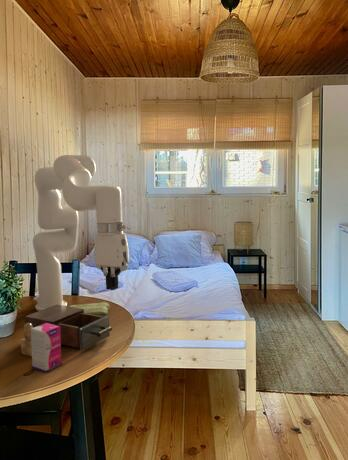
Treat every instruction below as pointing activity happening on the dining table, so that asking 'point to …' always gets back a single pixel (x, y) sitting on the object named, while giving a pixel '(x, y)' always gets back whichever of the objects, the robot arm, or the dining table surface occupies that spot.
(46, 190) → the robot arm
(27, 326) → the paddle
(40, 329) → the supplement box
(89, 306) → the washcloth
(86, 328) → the drawer
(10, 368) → the dining table surface
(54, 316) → the cabinet
